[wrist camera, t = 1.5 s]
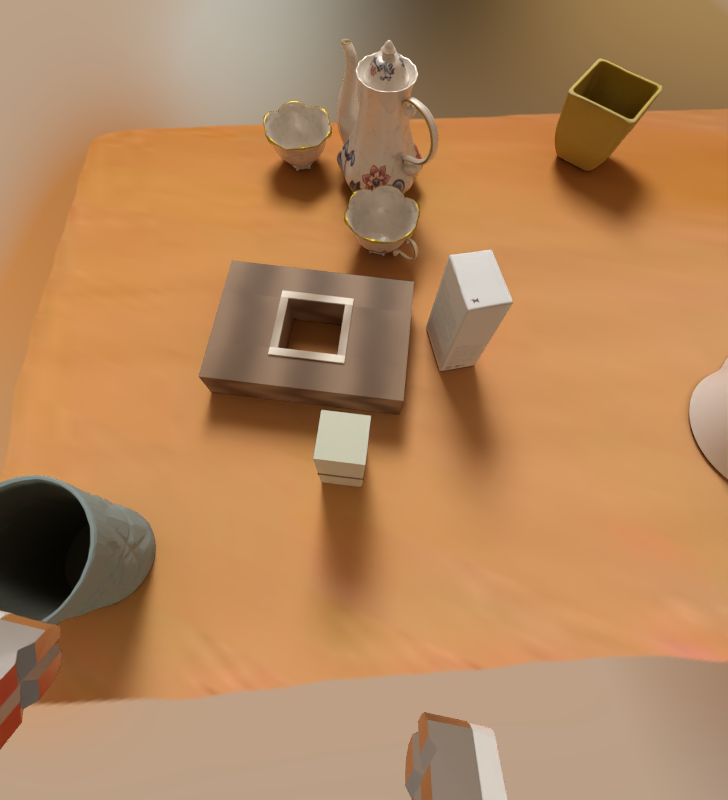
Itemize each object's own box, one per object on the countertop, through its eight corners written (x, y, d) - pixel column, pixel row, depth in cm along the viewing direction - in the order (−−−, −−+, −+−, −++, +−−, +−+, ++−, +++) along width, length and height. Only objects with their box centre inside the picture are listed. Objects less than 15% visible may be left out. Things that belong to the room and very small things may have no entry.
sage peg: (366, 447, 43) (371, 415, 33) (362, 487, 41) (365, 465, 32) (327, 442, 43) (320, 409, 33) (320, 482, 41) (312, 459, 32)
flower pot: (536, 157, 59) (567, 89, 50) (566, 125, 61) (600, 55, 53) (592, 188, 57) (634, 123, 49) (620, 153, 60) (665, 86, 51)
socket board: (409, 303, 49) (414, 280, 45) (399, 414, 44) (403, 400, 40) (240, 283, 49) (231, 259, 46) (211, 392, 44) (197, 375, 40)
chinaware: (251, 169, 58) (202, 34, 43) (341, 105, 61) (326, -43, 45) (388, 297, 51) (391, 193, 36) (482, 218, 54) (524, 90, 38)
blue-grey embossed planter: (82, 490, 40) (-21, 462, 29) (183, 511, 40) (118, 491, 29) (31, 605, 37) (-109, 623, 25) (142, 629, 36) (49, 659, 25)
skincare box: (475, 366, 46) (515, 303, 35) (438, 372, 46) (467, 311, 35) (460, 319, 49) (493, 247, 37) (424, 325, 48) (447, 253, 37)
